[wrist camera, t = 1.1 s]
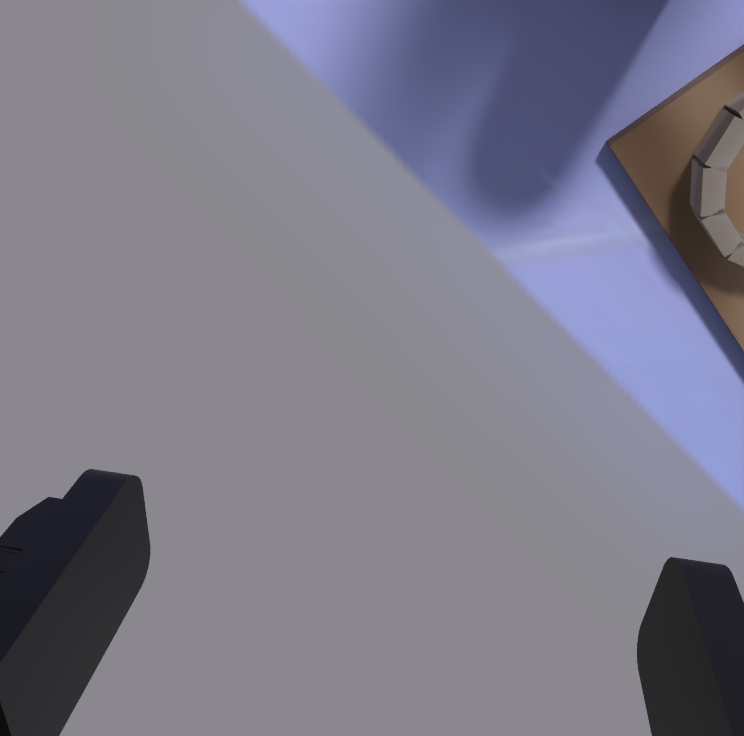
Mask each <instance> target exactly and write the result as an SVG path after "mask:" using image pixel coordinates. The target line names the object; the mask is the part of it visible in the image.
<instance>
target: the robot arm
mask: <svg viewBox="0 0 744 736" xmlns="http://www.w3.org/2000/svg"><path fill="white" fill-rule="evenodd" d="M149 560H150V541H149V533H148V526H147V518H146V510H145V502H144V495H143V487H142V483H141V480H140V478H139V477H137V476H134V475H128V474H121V473H114V472H107V471H100V470H94V469H89V470H87V471H85V472H84V473H83V474H82V475H81V476H80V477H79V478H78V480H77V481H76V482H75V484H74V485H73V486H72V487H71V489H70V490H69V491H68V492H67V494H66V495H65V496H64V498H63V499H59V498H52V497H48V498H46V499H45V500H43V501H42V502H40V503H39V504H37V505H36V506H34V507H32V508H31V509H29V510H28V511H26V512H25V513H23V514H22V515H20V516H19V517H17V518H16V519H15V520H14V522H13V523H12V524H11V525H10V526H9V527H8V529H7V530H6V531H5V532H4V533H3V535H2V536H1V537H0V736H59V735H60V733H61V731H62V730H63V727H64V726H65V724H66V722H67V720H68V719H69V717H70V715H71V713H72V711H73V710H74V708H75V706H76V704H77V702H78V701H79V699H80V697H81V695H82V693H83V692H84V690H85V688H86V686H87V684H88V682H89V681H90V679H91V677H92V675H93V673H94V672H95V670H96V668H97V666H98V664H99V662H100V661H101V659H102V657H103V655H104V654H105V652H106V650H107V648H108V646H109V645H110V643H111V641H112V639H113V637H114V635H115V634H116V632H117V630H118V628H119V626H120V625H121V623H122V621H123V619H124V617H125V615H126V614H127V612H128V610H129V608H130V607H131V605H132V603H133V601H134V599H135V597H136V596H137V594H138V592H139V590H140V588H141V586H142V584H143V582H144V579H145V577H146V573H147V570H148V565H149ZM637 663H638V670H639V675H640V680H641V685H642V690H643V695H644V700H645V704H646V709H647V714H648V719H649V724H650V728H651V733H652V736H744V602H743V600H742V597H741V595H740V592H739V590H738V587H737V584H736V582H735V579H734V577H733V575H732V572H731V571H730V569H729V568H728V567H727V566H725V565H721V564H715V563H708V562H701V561H695V560H688V559H681V558H674V557H671V558H669V559H668V560H667V561H666V563H665V565H664V567H663V569H662V572H661V574H660V577H659V579H658V582H657V585H656V587H655V590H654V592H653V595H652V598H651V600H650V603H649V605H648V608H647V610H646V613H645V616H644V618H643V621H642V623H641V626H640V630H639V635H638V643H637Z"/></svg>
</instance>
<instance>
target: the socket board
mask: <svg viewBox="0 0 744 736" xmlns="http://www.w3.org/2000/svg"><path fill="white" fill-rule="evenodd" d="M607 143H608V144H609V146H610V147H611V149H612V150H613V152H614V154H615V155H616V157H617V158H618V160H619V161H620V163H621V164H622V166H623V167H624V169H625V170H626V172H627V173H628V175H629V176H630V178H631V179H632V181H633V183H634V184H635V186H636V187H637V189H638V190H639V192H640V193H641V195H642V196H643V198H644V199H645V201H646V202H647V204H648V205H649V207H650V209H651V210H652V212H653V213H654V215H655V216H656V218H657V219H658V221H659V222H660V224H661V225H662V227H663V228H664V230H665V231H666V233H667V234H668V236H669V238H670V239H671V241H672V242H673V244H674V245H675V247H676V248H677V250H678V251H679V253H680V254H681V256H682V257H683V259H684V260H685V262H686V263H687V265H688V267H689V268H690V270H691V271H692V273H693V274H694V276H695V277H696V279H697V280H698V282H699V283H700V285H701V286H702V288H703V289H704V291H705V292H706V294H707V296H708V297H709V299H710V300H711V302H712V303H713V305H714V306H715V308H716V309H717V311H718V312H719V314H720V315H721V317H722V318H723V320H724V322H725V323H726V325H727V326H728V328H729V329H730V331H731V332H732V334H733V335H734V337H735V338H736V340H737V341H738V343H739V344H740V346H741V347H742V349H743V351H744V45H742V46H741V47H739V48H738V49H737V50H735V51H734V52H732V53H731V54H729V55H728V56H727V57H725V58H724V59H722V60H721V61H720V62H718V63H717V64H715V65H714V66H712V67H711V68H710V69H708V70H707V71H705V72H704V73H702V74H701V75H700V76H698V77H697V78H695V79H694V80H693V81H691V82H690V83H688V84H687V85H685V86H684V87H683V88H681V89H680V90H678V91H677V92H675V93H674V94H673V95H671V96H670V97H668V98H667V99H666V100H664V101H663V102H661V103H660V104H658V105H657V106H656V107H654V108H653V109H651V110H650V111H648V112H647V113H646V114H644V115H643V116H641V117H640V118H639V119H637V120H636V121H634V122H633V123H631V124H630V125H629V126H627V127H626V128H624V129H623V130H621V131H620V132H619V133H617V134H616V135H614V136H613V137H612V138H610V139H609V140H607Z"/></svg>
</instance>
